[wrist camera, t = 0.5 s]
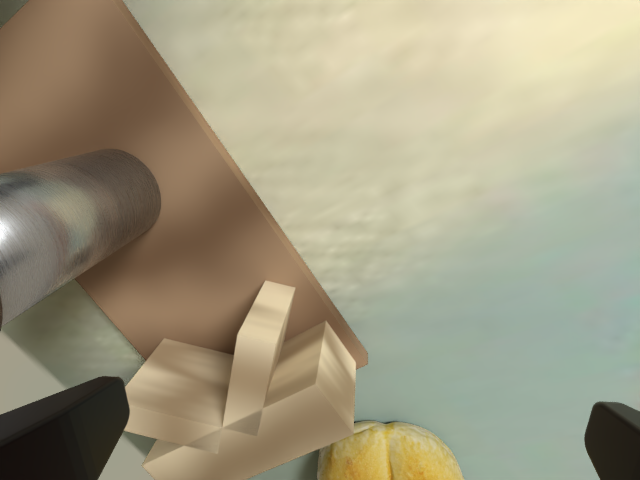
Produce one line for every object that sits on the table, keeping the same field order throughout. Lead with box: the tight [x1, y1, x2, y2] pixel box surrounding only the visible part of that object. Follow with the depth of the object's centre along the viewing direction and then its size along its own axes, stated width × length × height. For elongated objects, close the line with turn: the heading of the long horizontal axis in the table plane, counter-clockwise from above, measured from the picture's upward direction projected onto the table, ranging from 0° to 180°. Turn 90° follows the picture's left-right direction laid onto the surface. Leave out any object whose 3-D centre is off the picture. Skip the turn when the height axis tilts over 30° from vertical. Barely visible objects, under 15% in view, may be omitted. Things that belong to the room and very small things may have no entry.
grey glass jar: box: [0, 149, 161, 331], centre depth 15 cm, size 5×5×11 cm
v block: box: [124, 281, 356, 480], centre depth 21 cm, size 6×10×5 cm, turn 123°
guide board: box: [0, 0, 368, 369], centre depth 22 cm, size 23×11×1 cm, turn 33°
